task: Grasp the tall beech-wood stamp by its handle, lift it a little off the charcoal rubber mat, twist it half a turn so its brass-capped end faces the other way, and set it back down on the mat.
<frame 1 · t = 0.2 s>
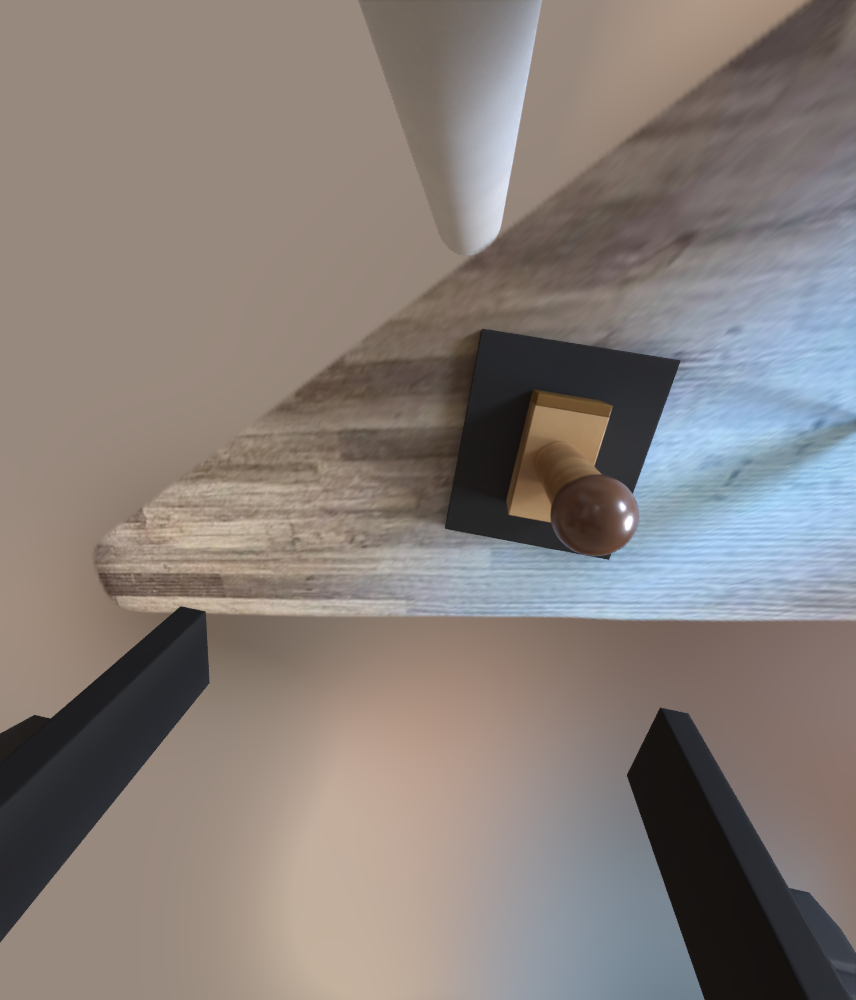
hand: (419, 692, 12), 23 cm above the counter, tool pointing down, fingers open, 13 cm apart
stamp: (566, 394, 30), point 1 cm above the counter, touching mat
mat: (549, 451, 32), on the counter
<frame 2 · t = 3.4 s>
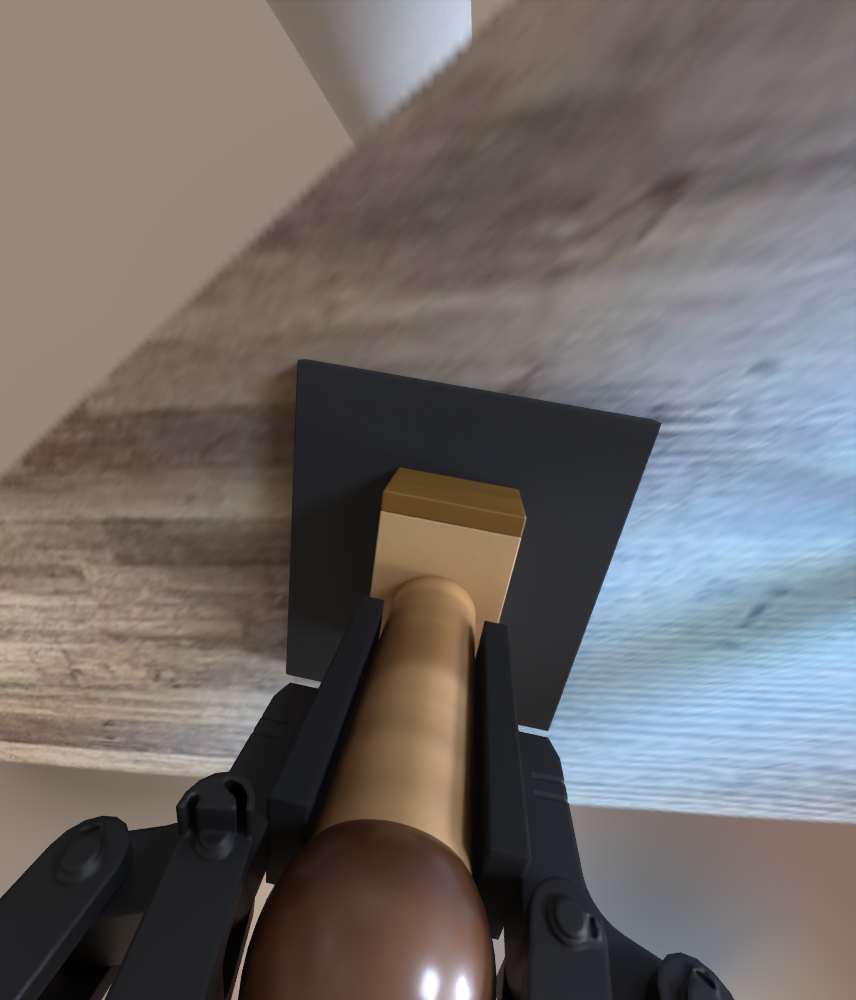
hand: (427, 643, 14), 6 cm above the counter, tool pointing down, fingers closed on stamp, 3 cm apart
stamp: (458, 477, 17), point 1 cm above the counter, touching gripper, mat
mat: (441, 562, 19), on the counter
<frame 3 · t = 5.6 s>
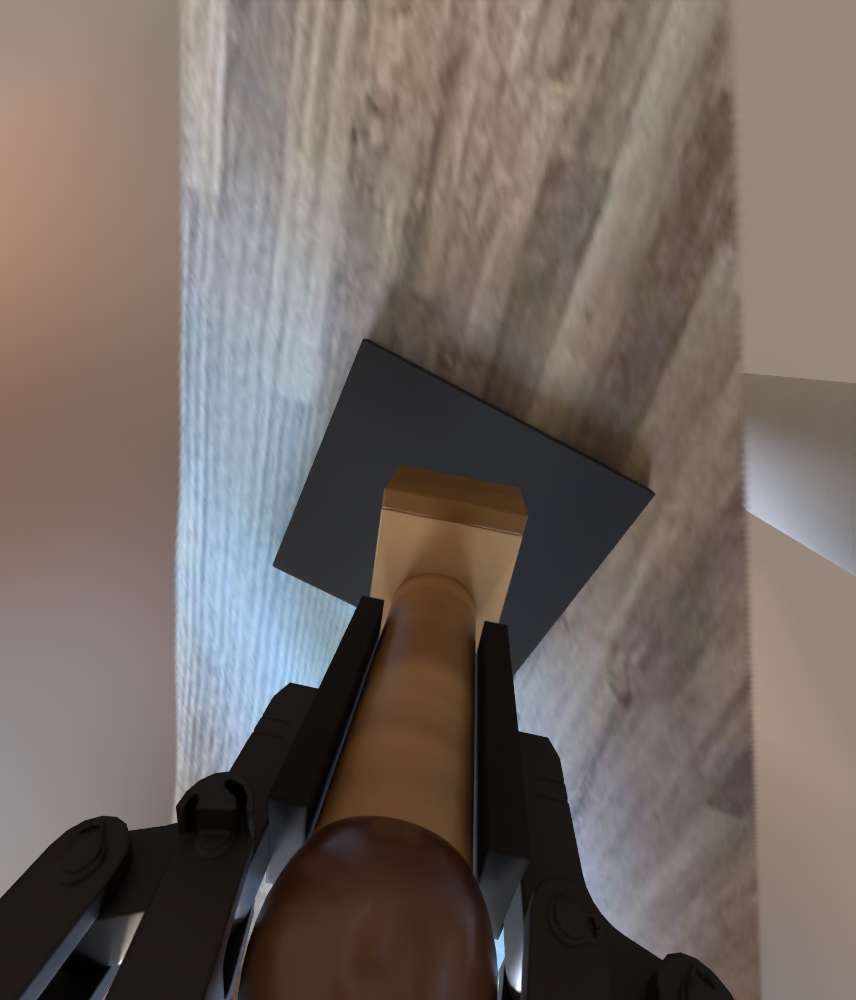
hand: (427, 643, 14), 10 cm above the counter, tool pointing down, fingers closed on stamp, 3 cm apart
stamp: (459, 475, 17), point 5 cm above the counter, touching gripper
mat: (447, 527, 23), on the counter
when the fingers open (5 cm above the counter, at t = 7.8 s): stamp stays where it is, resting on mat.
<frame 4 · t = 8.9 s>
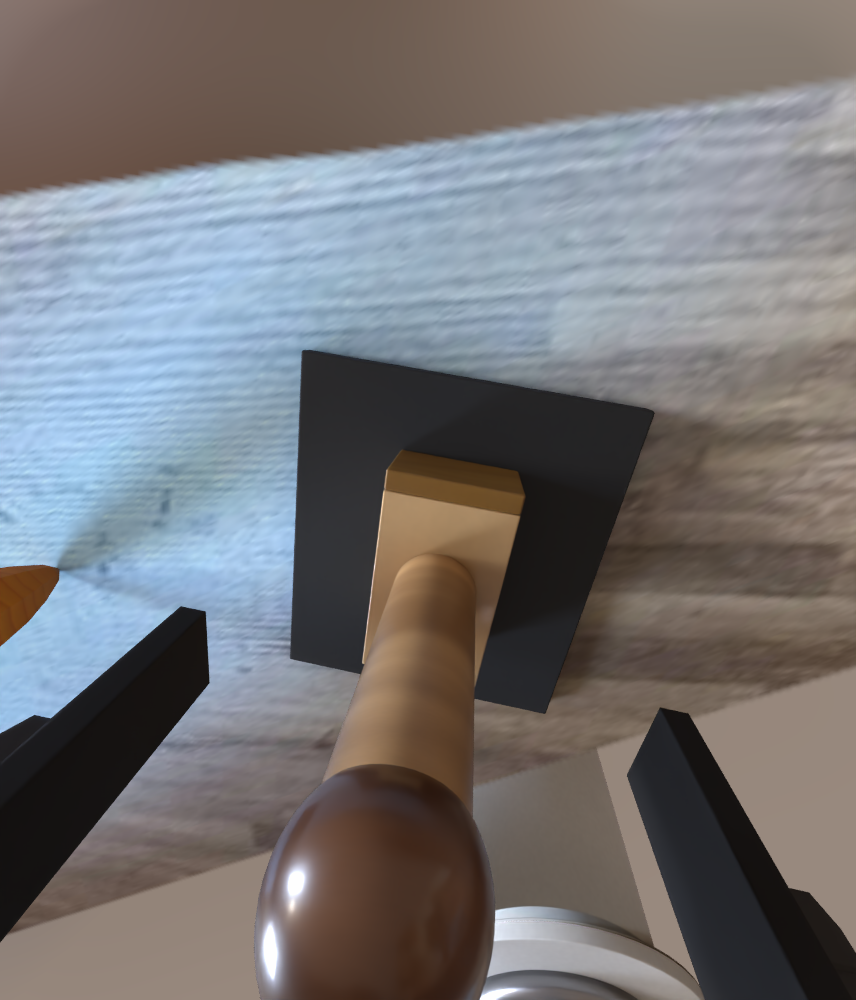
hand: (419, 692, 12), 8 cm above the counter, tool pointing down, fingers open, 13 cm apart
carrot: (60, 568, 23), on the counter
stamp: (459, 459, 17), point 1 cm above the counter, touching mat
mat: (441, 549, 19), on the counter
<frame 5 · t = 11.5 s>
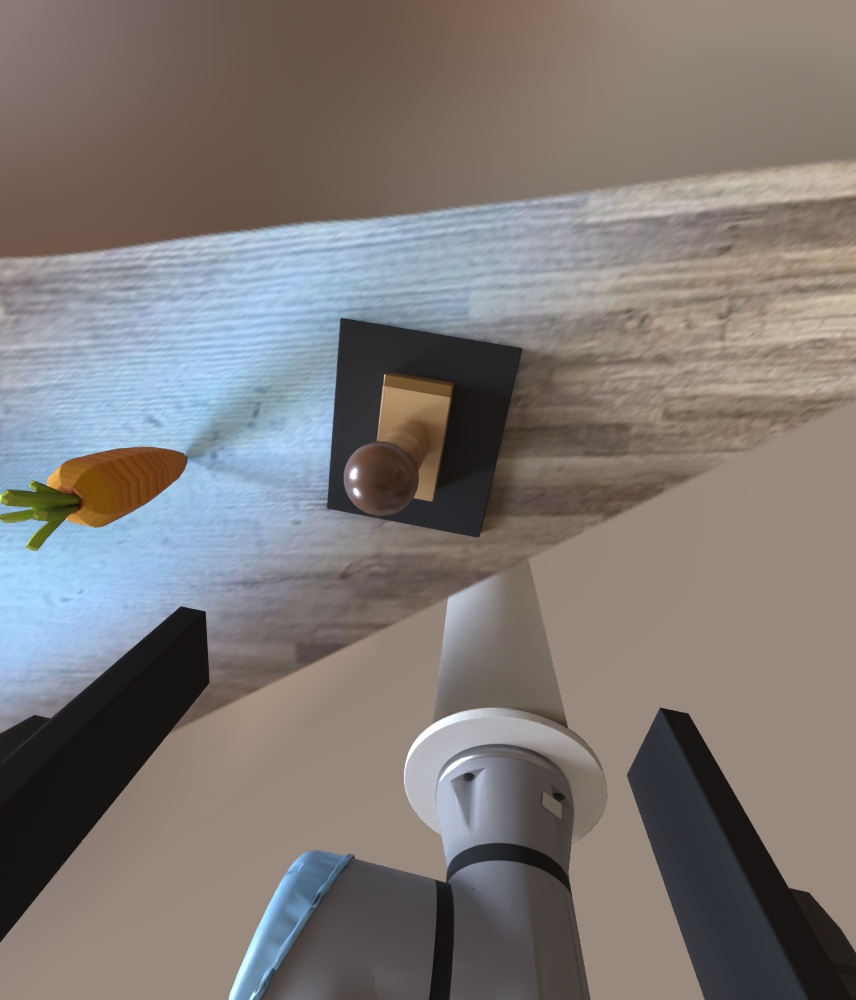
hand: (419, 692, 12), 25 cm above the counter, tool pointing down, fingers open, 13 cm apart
carrot: (186, 456, 38), on the counter
stamp: (423, 377, 32), point 1 cm above the counter, touching mat
mat: (416, 434, 34), on the counter
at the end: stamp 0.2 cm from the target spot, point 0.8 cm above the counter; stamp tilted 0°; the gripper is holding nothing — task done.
